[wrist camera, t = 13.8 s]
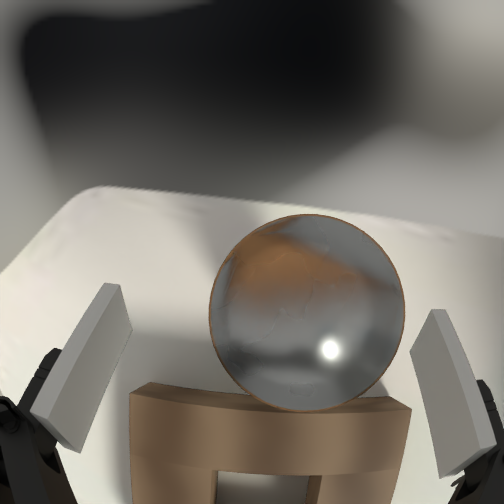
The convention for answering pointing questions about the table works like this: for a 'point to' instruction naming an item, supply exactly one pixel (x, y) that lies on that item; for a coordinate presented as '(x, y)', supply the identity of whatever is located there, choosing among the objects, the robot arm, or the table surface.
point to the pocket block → (261, 445)
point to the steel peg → (306, 313)
